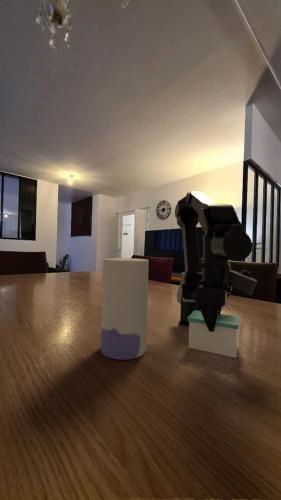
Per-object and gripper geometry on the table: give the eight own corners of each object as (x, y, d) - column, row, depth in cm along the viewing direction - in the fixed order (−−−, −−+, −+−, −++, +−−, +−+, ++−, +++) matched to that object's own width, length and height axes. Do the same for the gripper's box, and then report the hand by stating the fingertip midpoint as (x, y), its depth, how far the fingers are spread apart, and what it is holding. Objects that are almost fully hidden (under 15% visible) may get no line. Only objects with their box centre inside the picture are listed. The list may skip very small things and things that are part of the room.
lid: (187, 326, 51) (187, 317, 51) (194, 318, 58) (194, 310, 58) (238, 335, 47) (238, 325, 47) (239, 325, 53) (239, 316, 53)
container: (151, 344, 53) (153, 258, 53) (137, 364, 44) (139, 260, 44) (113, 337, 56) (115, 257, 56) (91, 355, 47) (94, 258, 47)
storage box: (188, 347, 52) (189, 321, 52) (194, 338, 57) (194, 314, 57) (236, 357, 47) (236, 329, 47) (237, 347, 53) (238, 321, 53)
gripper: (255, 261, 40) (253, 349, 40) (254, 259, 57) (252, 320, 57) (193, 259, 45) (191, 337, 45) (208, 257, 62) (206, 314, 62)
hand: (213, 326), depth 52 cm, fingers closed on lid, 7 cm apart
